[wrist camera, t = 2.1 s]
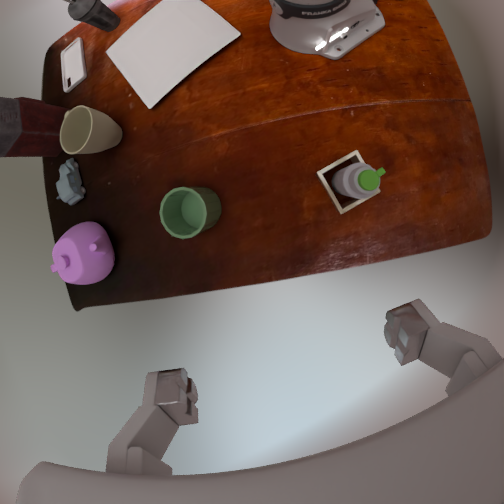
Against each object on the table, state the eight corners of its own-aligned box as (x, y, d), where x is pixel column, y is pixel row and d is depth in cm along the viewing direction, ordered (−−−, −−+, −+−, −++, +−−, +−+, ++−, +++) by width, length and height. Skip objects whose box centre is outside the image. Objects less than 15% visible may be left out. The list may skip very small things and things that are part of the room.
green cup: (206, 177, 49) (189, 177, 41) (229, 215, 50) (216, 221, 42) (173, 202, 51) (151, 205, 44) (194, 238, 52) (176, 247, 44)
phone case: (87, 77, 48) (82, 37, 46) (83, 75, 47) (79, 36, 45) (67, 93, 50) (63, 53, 48) (63, 92, 49) (60, 52, 46)
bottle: (359, 191, 45) (395, 195, 26) (335, 198, 46) (356, 206, 27) (352, 166, 44) (383, 154, 25) (328, 173, 45) (343, 164, 26)
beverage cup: (125, 8, 43) (76, -26, 23) (123, 28, 44) (70, -5, 25) (102, 20, 44) (52, -8, 25) (100, 40, 46) (45, 14, 26)
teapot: (84, 286, 60) (52, 302, 49) (65, 235, 58) (31, 245, 47) (141, 263, 56) (107, 281, 44) (119, 203, 54) (82, 209, 42)
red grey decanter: (68, 101, 51) (-22, 85, 24) (77, 136, 52) (-22, 130, 25) (48, 122, 53) (-38, 116, 26) (55, 157, 54) (-37, 160, 28)
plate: (243, 38, 42) (241, 33, 40) (154, 111, 48) (148, 109, 46) (184, -10, 40) (180, -14, 38) (110, 54, 46) (104, 51, 44)
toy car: (77, 158, 53) (62, 157, 49) (87, 196, 55) (73, 198, 50) (61, 171, 55) (47, 171, 50) (71, 208, 56) (57, 210, 52)
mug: (132, 108, 48) (95, 95, 37) (129, 154, 51) (90, 150, 39) (93, 116, 50) (56, 109, 39) (91, 159, 53) (52, 158, 41)
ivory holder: (350, 153, 44) (357, 149, 38) (371, 190, 44) (380, 191, 39) (315, 174, 46) (316, 172, 40) (336, 211, 46) (340, 214, 41)
